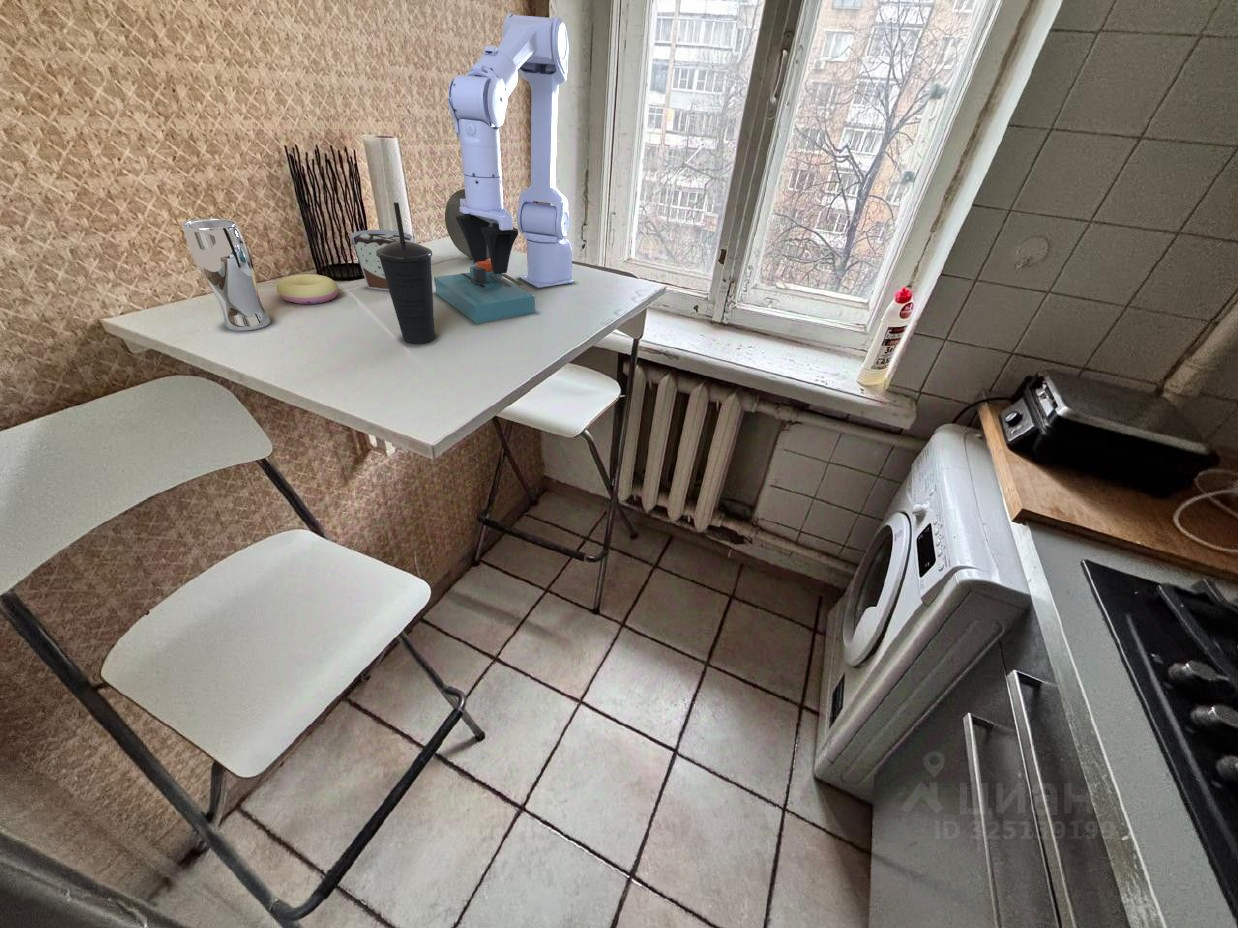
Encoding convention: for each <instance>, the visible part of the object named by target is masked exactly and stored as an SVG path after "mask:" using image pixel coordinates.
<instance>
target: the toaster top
mask: <svg viewBox="0 0 1238 928" xmlns="http://www.w3.org/2000/svg"><path fill="white" fill-rule="evenodd" d="M465 273H466V272H463V273H458V274H459V275H461V274H462V275H463V276H465V277H466V278H468V279H470V280H473V278H471V277H469V276H468V275H466V274H465ZM454 275H455V274H454ZM500 275H502V278H504V279H506V280H507V281H509V282H511V283H513V284H514V285H516V286H524V284H523V283H522V282H521V281H518V280H517V279H516V278H513V277H511V276H510V275H508V274H507V273H502V274H500ZM455 276H458V275H455ZM489 277H491V278H493V279H494V280H496V281H498V282H499V283H501V284H503V285H504V286H506V287H512V286H511V285H509V284H508V283H506V282H504V281H502V280H501V279H499V278H497V277H496V276H494V275H492V276H489ZM479 286H480V287H485V286H484V285H479Z"/></svg>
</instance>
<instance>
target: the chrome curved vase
mask: <svg viewBox="0 0 1238 928" xmlns="http://www.w3.org/2000/svg"><path fill="white" fill-rule="evenodd" d="M180 226H181V228H182V230H183V231H182V232H183V234H184V238H185V240H186V244H187V246H188V249H189V251H190V254H191V256H192V258H193V260H194V263H195V265H196V267H197V269H198V271H199V272H200V274H201V276H202V277H203V279H204V280H205V282H206V283H207V285H208V286H209V288H210V289H211V291H212V293H213V295H214V296H215V297H216V299H217V302H218V303H219V306H220V308H221V311H222V317H223V322H224V325H225V327H226V328H227V329H229V330H230V331H235V332H245V331H246V332H247V331H254V330H260V329H263V328H265V327H267V326H269V325H270V324H271V318H270V316H269V315H268V313H267V311H266V309H265V307H264V306H263V304H262V302H261V299H260V295H259V290H258V286H257V279H256V273H255V267H254V263H253V259H252V256H251V253H250V249H249V248H248V244H247V242H246V241H245V238H244V236H243V234H242V231H241V229H240V227H239V225H238V222H237V221H236V220H233V219H229V218H228V219H227V218H198V219H191V220H186V221H184V222H182V223H181V224H180Z"/></svg>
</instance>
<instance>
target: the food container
mask: <svg viewBox="0 0 1238 928" xmlns="http://www.w3.org/2000/svg"><path fill="white" fill-rule="evenodd" d="M404 237H405V241H408V242H413V243H416V241H415V239H414V238H413V236H412V234H410V233H408V232H405V231H404ZM349 240H350V245H351V246H354V249H355V253H356V255H357V258H358V262H359V265H360V267H361V270H362V274H363V276H364V280H365V284H366V286H367V289H372V290H373V289H375V290H381V291H389V288H388V285H387V281H386V278H385V275H384V271H383V268H382V264H381V261H380V258H379V257H378V256H377V254H376V251H377V250H378V249H379V248H382V247H384V246H385V245H387V244H390V243H393V242H398V241H400V237H399V231H398V230H392V229H366V230H359V231H355V232H351V233H350V239H349Z"/></svg>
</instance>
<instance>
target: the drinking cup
mask: <svg viewBox="0 0 1238 928" xmlns="http://www.w3.org/2000/svg"><path fill="white" fill-rule="evenodd" d="M393 208H394V214H395V221H396V227H397V231H399V237H400V241H398V242H393V243H390V244H387V245H385V246H384V247H382V248H379V249H378V250H377V251H376V254H377V256H378V257H379V258H380V261H381V264H382V268H383V271H384V275H385V278H386V281H387V285H388V288H389V290H388V291H389V295H390V298H391V301H392V305H393V308H394V312H395V315H396V318H397V322H398V326H399V328H400V329H399V330H400V333H401V335H402V339H403V341H404V342H405V343H406V344H409V345H415V346H421V345H427V344H430V343H432V342H434V341H435V340H436V331H435V314H434V313H435V312H434V293H433V292H434V291H433V276H432V256H433V251H432V249H430V248H428V247H426V246H424V245H421V244H419V243H416V242H415V243H413V242H408V241H405V237H404V232H405V231H404V226H403V220H402V214H401V208H400V203H399V202H393Z"/></svg>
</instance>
